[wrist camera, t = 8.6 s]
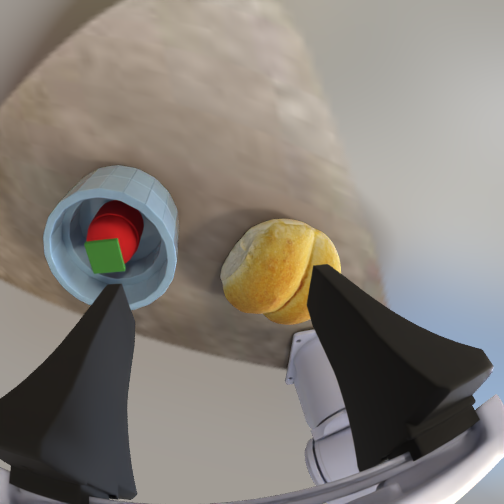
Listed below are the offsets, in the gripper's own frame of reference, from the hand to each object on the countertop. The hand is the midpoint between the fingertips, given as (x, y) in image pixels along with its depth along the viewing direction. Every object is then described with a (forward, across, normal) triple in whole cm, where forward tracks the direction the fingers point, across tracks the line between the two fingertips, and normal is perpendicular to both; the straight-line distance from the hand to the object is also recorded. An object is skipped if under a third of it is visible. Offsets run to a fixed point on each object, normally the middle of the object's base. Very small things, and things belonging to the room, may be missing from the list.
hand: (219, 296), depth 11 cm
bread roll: (+10, -5, +6) cm, 12 cm away
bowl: (+9, +6, +1) cm, 11 cm away
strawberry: (+9, +6, +1) cm, 11 cm away
